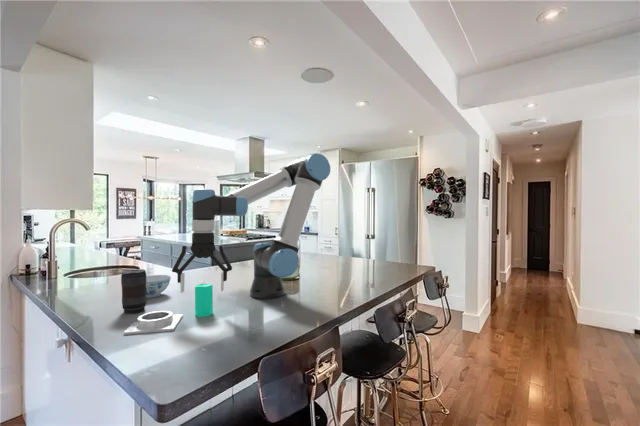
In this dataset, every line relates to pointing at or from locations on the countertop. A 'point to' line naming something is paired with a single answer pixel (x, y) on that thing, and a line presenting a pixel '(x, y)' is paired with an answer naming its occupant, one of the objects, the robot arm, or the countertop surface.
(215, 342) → the countertop surface
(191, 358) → the countertop surface
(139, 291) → the camera lens
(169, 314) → the duct flange
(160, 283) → the chinaware
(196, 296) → the candle
